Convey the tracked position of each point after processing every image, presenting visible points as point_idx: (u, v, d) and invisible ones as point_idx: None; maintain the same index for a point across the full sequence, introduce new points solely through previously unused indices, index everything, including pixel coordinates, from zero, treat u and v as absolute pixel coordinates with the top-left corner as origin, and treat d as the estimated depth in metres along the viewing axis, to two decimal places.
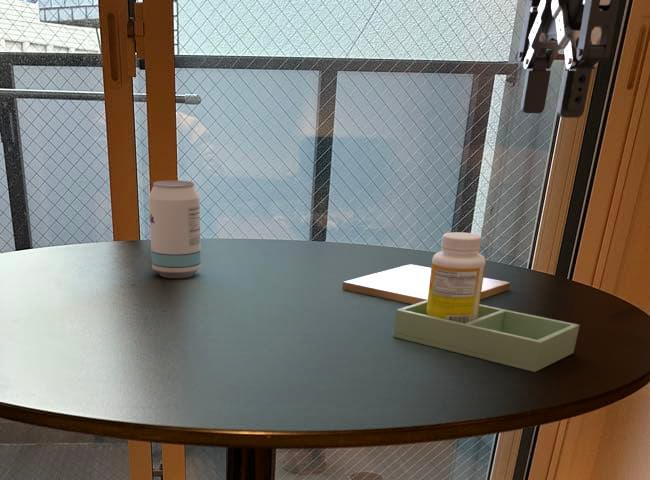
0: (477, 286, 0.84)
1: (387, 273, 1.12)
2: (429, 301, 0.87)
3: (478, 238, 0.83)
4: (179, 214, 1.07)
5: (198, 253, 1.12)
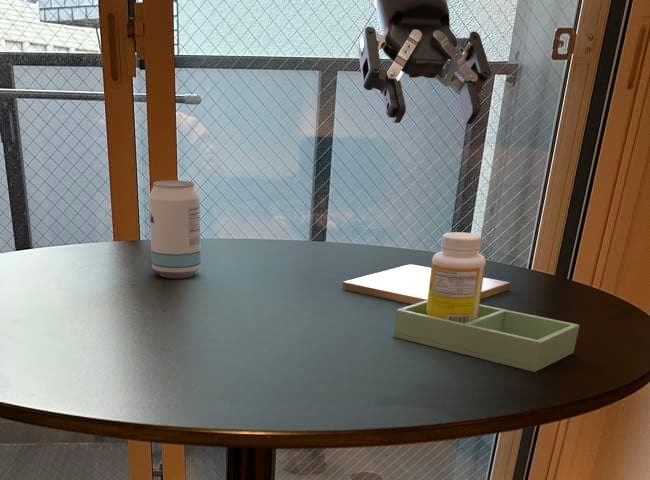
0: (477, 286, 0.84)
1: (387, 273, 1.12)
2: (429, 301, 0.87)
3: (478, 238, 0.83)
4: (179, 214, 1.07)
5: (198, 253, 1.12)
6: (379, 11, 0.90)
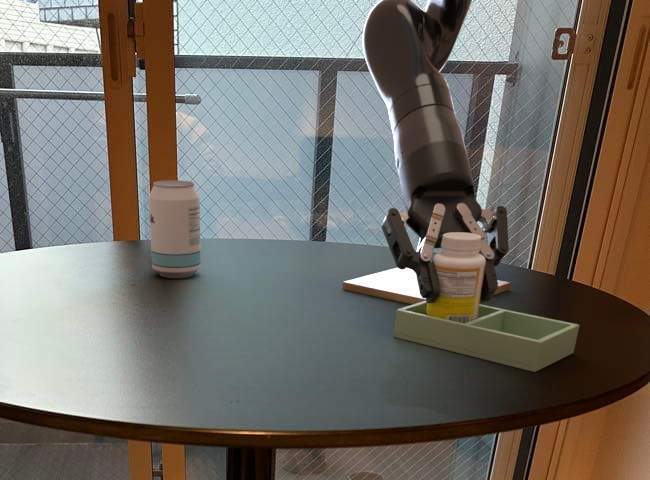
0: (477, 286, 0.84)
1: (387, 273, 1.12)
2: None
3: (478, 238, 0.83)
4: (179, 214, 1.07)
5: (198, 253, 1.12)
6: (402, 181, 0.88)
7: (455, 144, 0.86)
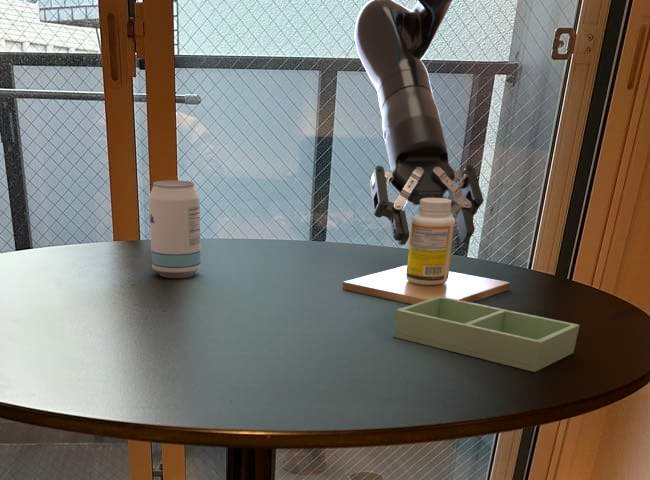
0: (448, 241, 1.03)
1: (387, 273, 1.12)
2: (409, 255, 1.05)
3: (448, 201, 1.01)
4: (179, 214, 1.07)
5: (198, 253, 1.12)
6: (388, 149, 1.07)
7: (432, 118, 1.04)
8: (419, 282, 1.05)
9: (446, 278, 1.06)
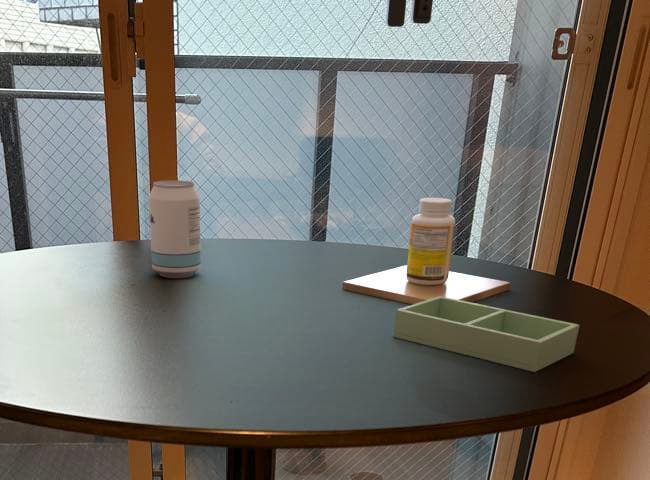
0: (448, 241, 1.03)
1: (387, 273, 1.12)
2: (409, 255, 1.05)
3: (448, 201, 1.01)
4: (179, 214, 1.07)
5: (198, 253, 1.12)
6: None
7: None
8: (419, 282, 1.05)
9: (446, 278, 1.06)
